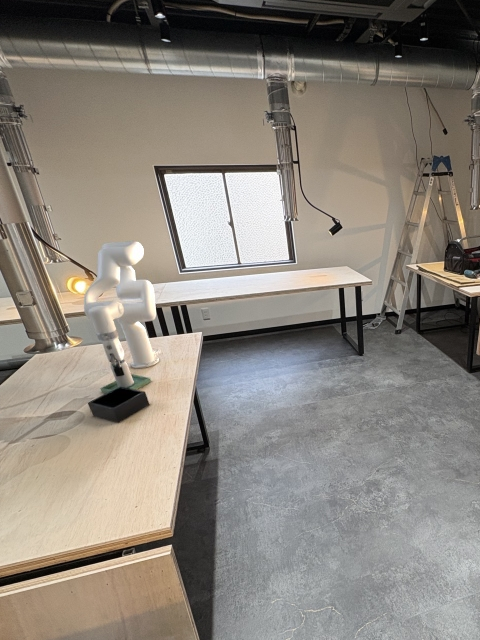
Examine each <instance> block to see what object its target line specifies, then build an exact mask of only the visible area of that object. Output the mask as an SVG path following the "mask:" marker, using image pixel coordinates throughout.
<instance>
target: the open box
mask: <svg viewBox="0 0 480 640" xmlns="http://www.w3.org/2000/svg"><path fill="white" fill-rule="evenodd" d="M87 405H88V407H89V410H90V412H91V415H92V417H94V418H97V419H101V420H106V421H109V422H114V423H117V424H119V423H121V422H123V421H125V420H127V419H128V418H130V417H132V416H133V415H135V414H137V413H139V412H141V411H142V410H144V409H145V408H147V407H149V406H150V405H151V404H150V401H149V399H148V396H147V393H146V391H143V390H138V389H136V390H135V389H130V388H125V387H121V386H120V387H118V388H116V389H114V390H112V391H110V392H108V393H104V394H102V395H101V396H98V397H96V398H94V399H93V400H90V401H88V402H87Z"/></svg>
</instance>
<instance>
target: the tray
mask: <svg viewBox="0 0 480 640" xmlns="http://www.w3.org/2000/svg"><path fill="white" fill-rule="evenodd" d="M131 376H132V378H133V381H134V384H133V385H132V386H131V387H128V388H130V389H135V390H138V389H140V388H142V387H144V386H146V385H148V384H150V383H151V382H152V379H151V377H147V376H144V375H143V376H142V375H137V374H134V373H131ZM116 388H118V385H117V382H116V380H114V381H113V382H110V383H108V384H106V385H103V386H102V387H100V388H99V389H100V392H101V393H104V394H106V393H108V392H110V391H112V390H114V389H116Z"/></svg>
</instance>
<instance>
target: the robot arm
mask: <svg viewBox="0 0 480 640" xmlns="http://www.w3.org/2000/svg"><path fill="white" fill-rule="evenodd" d="M143 258H144V247H143V246H142V244H141V243H140V242H139V241H136V240H128V241H127V240H125V241H113V242H112V241H111V242H105V243H103V244H102V245H101V249H99V250H98V252H97V264H96V266H97V267H96V279H95V280H94V281H93V282H92V283H91V284H90V285H89V286H88V288H87V289H86V291H85V293H84V297H83V310H84V311H83V312H84V314H85V316H86V317H87V319H90V321H91V324H92V326H93V328H94V331H95V334H96V336H97V340H98V341H99V342H101V343H102V346H103V349H104V352H105V356H106V358H107V360H108V362H109V363H110V364H111V363H112V366H113V369H114V372H115V374H116V376H117V377H118V376H123V375H124V371H123V369H122V367H121V365H120V363H121V362H119V361H122V360H124V357H125V351H124V348H123V345H122V343H121V341H120V340H119V337H120V335H119V333H118V329H117V327H116V324H115V321H114V320H117V323H118V324H119V326H120V328H121V330H122V334H123V335H124V338H125V341H126V344H127V347H128V349H129V352H130V356H131V359H132V362H131V363H130V366H131V367H132V368H133V369H144V368H149V367H152V366H154V365H156V364H158V362H160V360H159V357H157V356H159V355H161V354H162V353H163V352H162V350H161V349H158V350H153V348H152V345H151V342H150V339H149V336H148V333H147V330H146V328H145V326H144V325H143V324H141V323H144V322H145V323H146V322H152V321H154V320H155V319H156V318H157V308H156V306H157V305H156V296H155V289H154V286H153V284H152V283H151V282H150V281H149V280H147V279H136V272H135V270H134V267H132V266H135V265H137V264H138V263H139V262H140V261H141V260H142V259H143ZM114 288H115V292H116V296H117V298H118V299H119V300H120V301H123V302H122V303H121V302H120V301H117V300H106V301H105V300H103V301H98V299H99V297H100V296H101V295H102V294H104V293H106V292H107V291H110V290H111V289H114ZM126 301H127V302H126ZM131 301H132V302H131ZM133 301H135V302H133ZM117 360H118V361H117ZM116 362H118V364H116Z"/></svg>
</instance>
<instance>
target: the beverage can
mask: <svg viewBox="0 0 480 640" xmlns="http://www.w3.org/2000/svg"><path fill="white" fill-rule="evenodd" d="M117 361H118V360H117ZM119 362H121V363H120V365H121V367H122V369H123V371H124V375H123V376H118V377H117V376H116V374H115V372H114V369H113V366H112V363H110V369H111V372H112V374H113V377H114V379H115V380H114V381H116V382H117V385H118V387H120V386H121V387H125V388H128V387H131V386H132V385H133V384H134V381H133V378H132V376H131V374H132V372H131V371H130V368H129V365H128V363H127V362H126V360H125V359H123V360H122V361H119ZM116 364H118V362H116Z"/></svg>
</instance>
